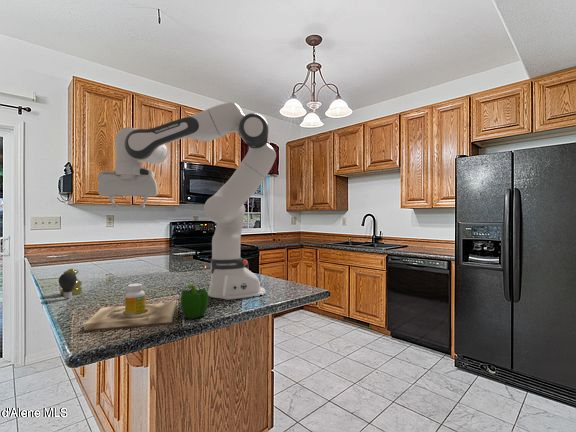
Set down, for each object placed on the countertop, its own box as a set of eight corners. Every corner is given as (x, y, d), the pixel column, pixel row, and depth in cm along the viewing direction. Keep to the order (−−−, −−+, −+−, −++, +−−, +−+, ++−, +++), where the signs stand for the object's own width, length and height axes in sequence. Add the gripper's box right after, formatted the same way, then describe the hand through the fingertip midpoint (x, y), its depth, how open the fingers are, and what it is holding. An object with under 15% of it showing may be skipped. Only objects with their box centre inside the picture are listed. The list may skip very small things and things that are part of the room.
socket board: (175, 308, 105) (175, 302, 105) (171, 323, 90) (171, 316, 90) (101, 313, 99) (101, 307, 99) (84, 331, 84) (84, 323, 84)
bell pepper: (197, 310, 102) (197, 280, 102) (213, 315, 97) (213, 283, 97) (174, 317, 96) (174, 284, 96) (189, 322, 91) (189, 287, 91)
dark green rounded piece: (55, 295, 124) (55, 270, 124) (72, 291, 131) (72, 267, 131) (70, 296, 122) (70, 270, 122) (86, 292, 129) (86, 267, 130)
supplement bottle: (137, 320, 92) (137, 286, 92) (120, 319, 93) (120, 286, 93) (148, 314, 97) (148, 283, 97) (133, 313, 98) (133, 282, 98)
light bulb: (64, 297, 121) (64, 271, 121) (79, 296, 122) (79, 270, 122) (55, 301, 115) (55, 273, 116) (71, 300, 116) (71, 273, 116)
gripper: (95, 169, 113) (95, 207, 113) (156, 171, 119) (156, 207, 119) (100, 171, 119) (100, 208, 119) (158, 173, 125) (158, 208, 125)
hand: (128, 208), depth 119 cm, fingers open, 8 cm apart
